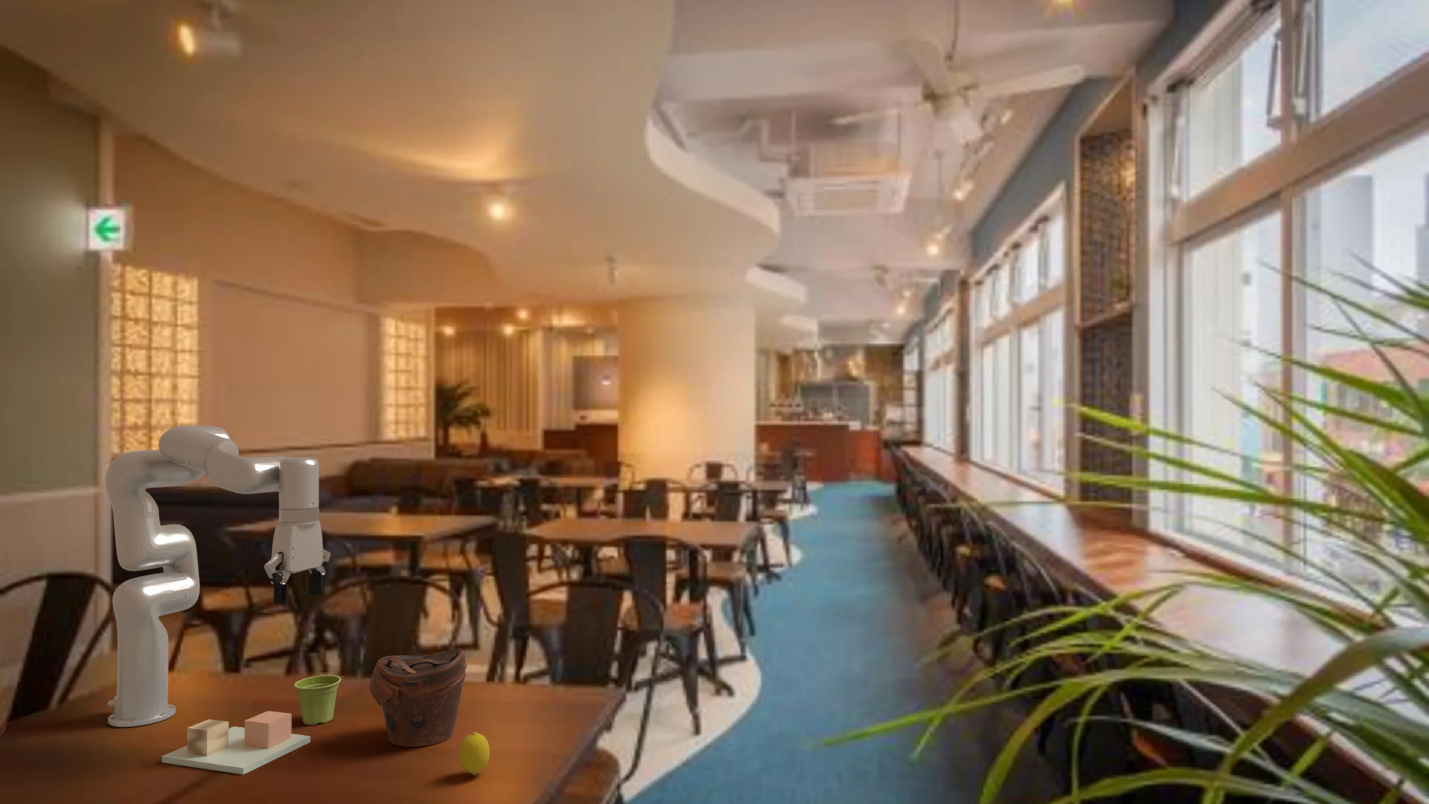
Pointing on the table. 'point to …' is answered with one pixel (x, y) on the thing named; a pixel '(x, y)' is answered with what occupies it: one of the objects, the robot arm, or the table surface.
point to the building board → (236, 754)
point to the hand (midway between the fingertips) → (298, 598)
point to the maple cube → (207, 737)
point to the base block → (267, 729)
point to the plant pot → (317, 698)
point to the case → (419, 696)
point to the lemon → (474, 753)
